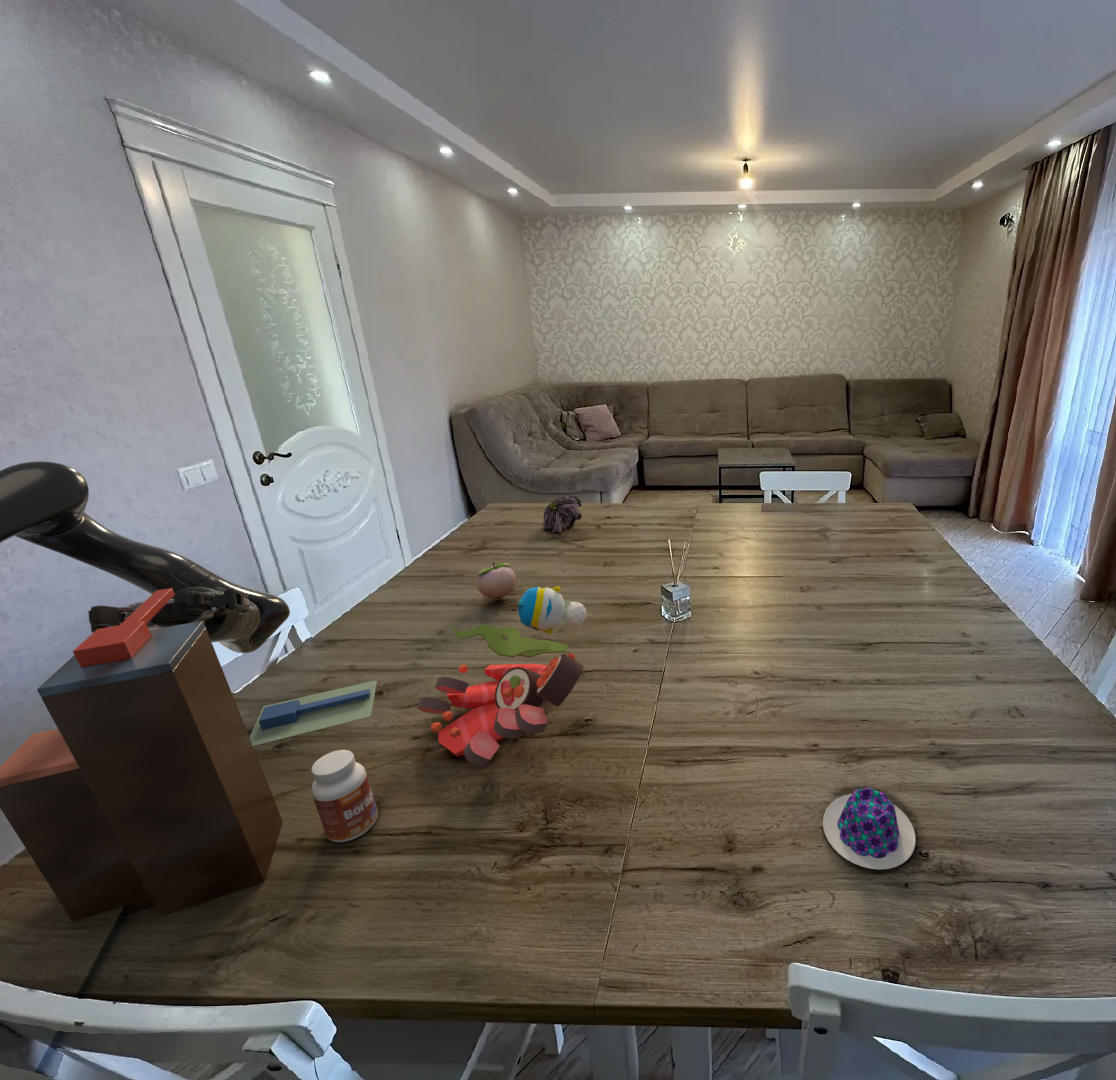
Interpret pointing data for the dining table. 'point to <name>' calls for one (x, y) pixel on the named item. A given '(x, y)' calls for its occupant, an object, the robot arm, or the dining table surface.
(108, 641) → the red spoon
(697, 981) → the dining table surface
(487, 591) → the decorative fruit
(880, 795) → the pudding
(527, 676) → the sushi set
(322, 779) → the pill bottle
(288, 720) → the blue spatula
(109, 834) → the wooden stand
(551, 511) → the decorative flower
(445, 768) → the dining table surface
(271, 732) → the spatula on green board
